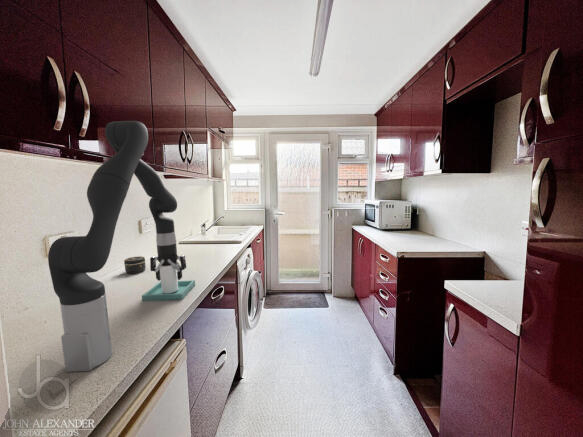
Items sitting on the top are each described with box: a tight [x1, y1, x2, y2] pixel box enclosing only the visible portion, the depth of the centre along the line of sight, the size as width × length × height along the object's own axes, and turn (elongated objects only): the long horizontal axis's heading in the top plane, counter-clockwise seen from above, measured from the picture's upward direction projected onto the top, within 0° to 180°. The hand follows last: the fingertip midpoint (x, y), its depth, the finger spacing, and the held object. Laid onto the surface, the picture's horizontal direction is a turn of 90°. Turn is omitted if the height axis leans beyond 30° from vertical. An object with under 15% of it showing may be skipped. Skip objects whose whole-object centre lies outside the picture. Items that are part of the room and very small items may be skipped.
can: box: [160, 265, 179, 294], centre depth 114 cm, size 6×6×12 cm
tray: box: [141, 279, 196, 302], centre depth 114 cm, size 16×16×2 cm
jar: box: [123, 255, 146, 275], centre depth 146 cm, size 10×10×8 cm
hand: (169, 279), depth 114 cm, fingers open, 8 cm apart
